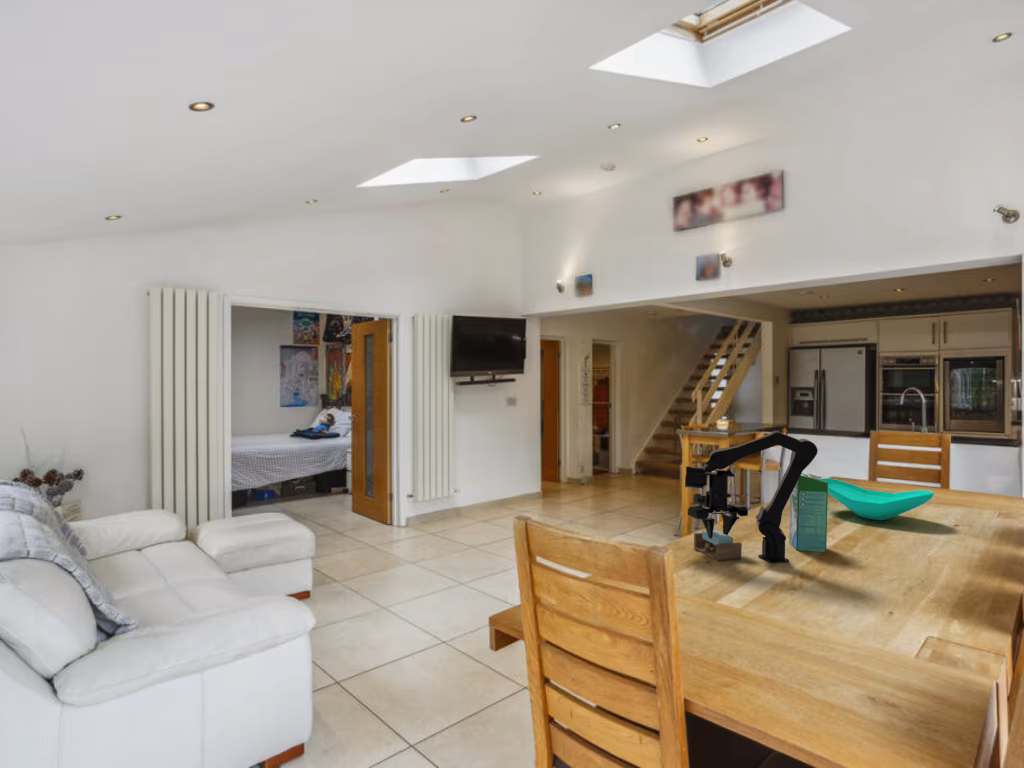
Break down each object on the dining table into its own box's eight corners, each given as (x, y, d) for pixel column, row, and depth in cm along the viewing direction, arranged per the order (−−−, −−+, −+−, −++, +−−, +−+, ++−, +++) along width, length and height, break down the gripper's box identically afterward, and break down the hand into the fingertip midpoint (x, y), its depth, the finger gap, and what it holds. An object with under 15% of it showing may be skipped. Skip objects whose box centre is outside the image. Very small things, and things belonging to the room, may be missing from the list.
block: (702, 538, 189) (702, 531, 189) (715, 537, 191) (715, 530, 191) (719, 546, 181) (719, 538, 181) (732, 545, 182) (733, 537, 182)
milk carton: (826, 552, 188) (828, 475, 188) (796, 550, 190) (798, 474, 190) (817, 544, 197) (819, 471, 197) (789, 542, 199) (790, 469, 198)
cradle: (741, 559, 180) (741, 543, 180) (718, 561, 178) (719, 545, 178) (715, 546, 193) (715, 531, 193) (693, 548, 191) (694, 533, 191)
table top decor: (937, 520, 231) (938, 487, 231) (927, 534, 210) (928, 498, 210) (827, 504, 258) (828, 474, 257) (809, 515, 237) (810, 483, 237)
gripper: (727, 483, 195) (727, 529, 196) (678, 485, 190) (677, 532, 191) (749, 489, 185) (748, 538, 185) (698, 492, 180) (697, 542, 180)
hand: (717, 537), depth 186 cm, fingers closed on block, 5 cm apart
